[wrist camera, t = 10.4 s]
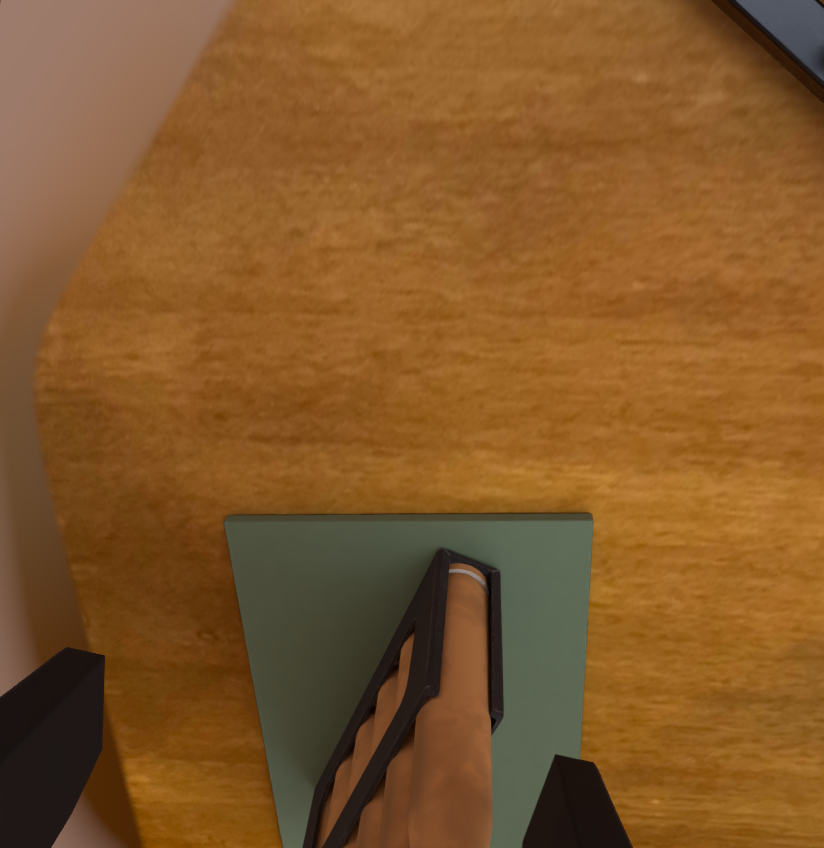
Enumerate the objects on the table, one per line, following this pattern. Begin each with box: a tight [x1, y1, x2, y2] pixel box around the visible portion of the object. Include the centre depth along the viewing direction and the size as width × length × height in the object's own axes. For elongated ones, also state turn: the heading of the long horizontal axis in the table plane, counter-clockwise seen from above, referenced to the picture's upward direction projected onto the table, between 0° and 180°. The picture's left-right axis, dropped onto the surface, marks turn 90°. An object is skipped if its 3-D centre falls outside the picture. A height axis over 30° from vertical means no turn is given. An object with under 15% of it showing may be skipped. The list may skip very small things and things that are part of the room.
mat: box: [224, 513, 593, 848], centre depth 24 cm, size 14×10×1 cm
